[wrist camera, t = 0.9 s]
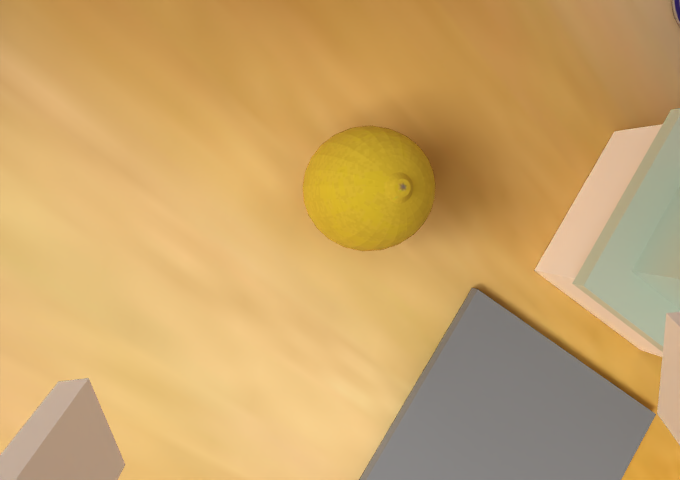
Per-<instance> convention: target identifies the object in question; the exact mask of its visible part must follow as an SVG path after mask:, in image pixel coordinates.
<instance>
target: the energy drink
mask: <svg viewBox="0 0 680 480" xmlns="http://www.w3.org/2000/svg"><path fill="white" fill-rule="evenodd" d="M672 7H673V13H674V16H675V19H676V21H677V23H678V25H679V27H680V0H672Z"/></svg>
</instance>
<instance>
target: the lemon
mask: <svg viewBox="0 0 680 480" xmlns="http://www.w3.org/2000/svg"><path fill="white" fill-rule="evenodd" d="M303 196H304V203H305V206H306V209H307V212H308V215H309V216H310V218H311V219H312V221H313V222H314V224H315V226H316V227H317V228H318V229H319V230H320V231H321V232H322V233H323V234H324V235H325V236H326V237H327V238H328V239H330V240H332V241H334V242H336V243H337V244H339V245H341V246H343V247H346V248H351V249H355V250H360V251H371V250H382V249H386V248H389V247H392V246H395V245H398V244H400V243H401V242H403V241H404V240H406V239H407V238H409V237H411V236H412V235H414V234H415V232H416V231H417V230H418V229H419V228H420V227H421V226H422V225H423V224H424V222H425V220H426V219H427V217H428V215H429V213H430V212H431V209H432V205H433V202H434V198H435V180H434V174H433V170H432V167H431V165H430V163H429V160H428V158H427V157H426V155H425V154H424V153H423V151H422V150H421V149H420V147H419V146H418V145H417V144H415V143H414V142H413V141H412V140H411V139H409V138H408V137H407V136H405V135H403V134H400V133H398V132H396V131H394V130H391V129H388V128H382V127H376V126H363V127H354V128H350V129H348V130H345V131H343V132H340V133H338V134H336V135H334V136H333V137H331V138H330V139H329V140H327V141H326V142H325V143H323V144H322V145H321V146H320V147H319V149H318V150H317V151H316V152H315V154H314V155H313V156H312V158H311V159H310V162H309V164H308V167H307V169H306V171H305V176H304V182H303Z"/></svg>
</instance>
